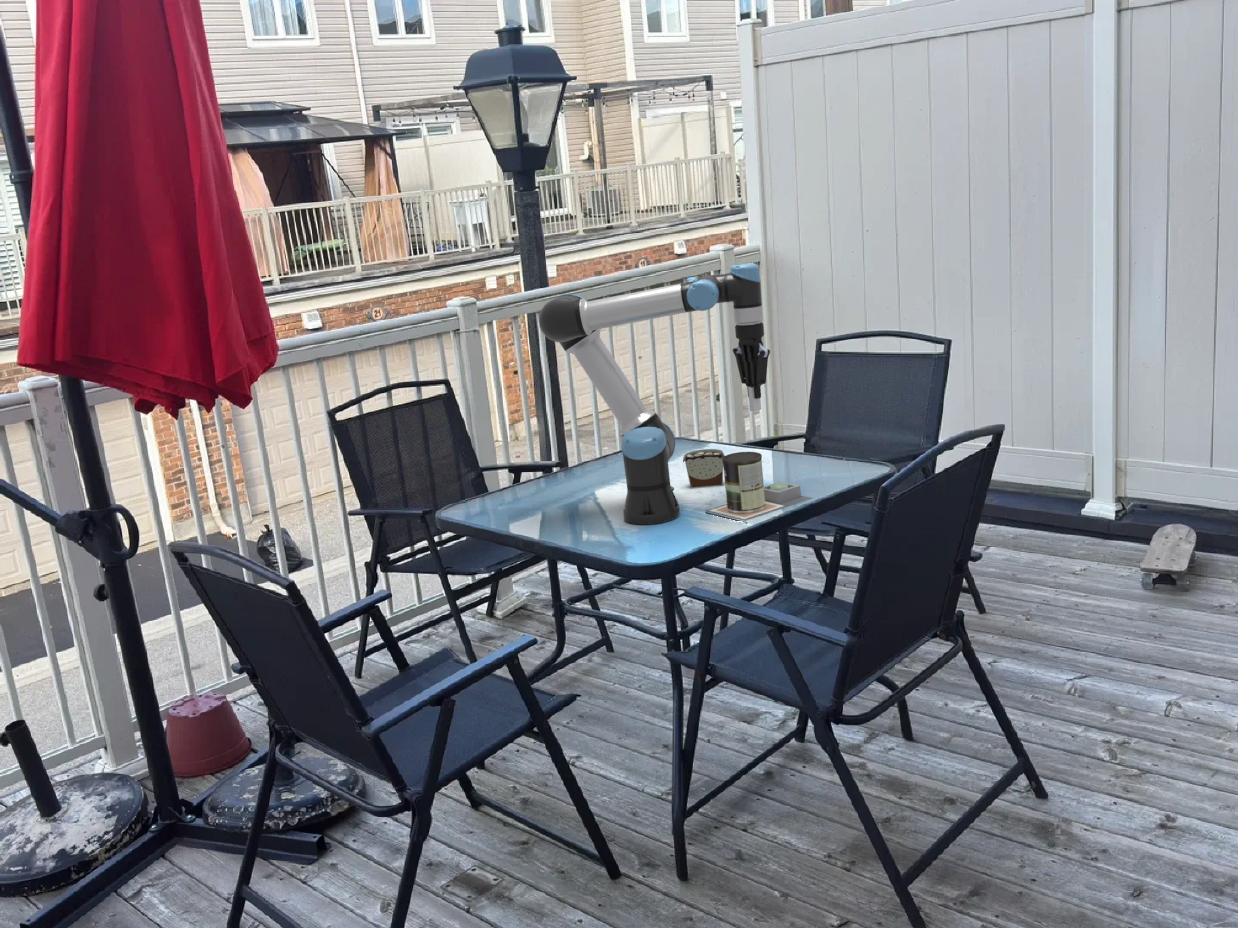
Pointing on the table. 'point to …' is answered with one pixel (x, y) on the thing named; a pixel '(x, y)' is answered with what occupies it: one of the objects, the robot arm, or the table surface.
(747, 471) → the coffee can
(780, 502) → the pad with button box
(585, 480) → the table surface
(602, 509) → the table surface
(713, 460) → the food container
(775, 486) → the button
